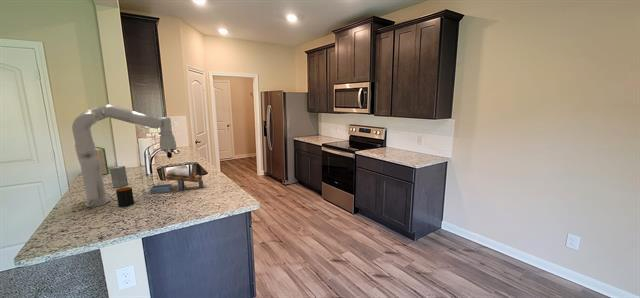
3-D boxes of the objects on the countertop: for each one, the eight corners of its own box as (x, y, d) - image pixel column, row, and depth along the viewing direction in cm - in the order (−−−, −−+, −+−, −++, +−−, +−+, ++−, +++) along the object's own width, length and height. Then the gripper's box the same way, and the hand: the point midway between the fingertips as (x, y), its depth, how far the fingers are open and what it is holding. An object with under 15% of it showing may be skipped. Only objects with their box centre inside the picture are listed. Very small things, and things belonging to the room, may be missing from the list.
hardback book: (108, 174, 248) (104, 148, 243) (99, 176, 242) (94, 149, 237) (101, 171, 258) (97, 146, 253) (92, 173, 252) (87, 148, 247)
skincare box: (121, 188, 208) (117, 168, 205) (112, 188, 208) (108, 168, 205) (128, 184, 216) (126, 165, 213) (120, 184, 216) (117, 165, 213)
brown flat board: (203, 176, 218) (203, 171, 218) (200, 182, 202) (201, 177, 202) (169, 173, 211) (170, 168, 210) (163, 179, 195) (164, 173, 194)
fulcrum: (187, 186, 209) (186, 175, 208) (184, 191, 198) (183, 180, 196) (179, 187, 207) (177, 176, 206) (175, 192, 196) (174, 181, 195)
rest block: (202, 188, 204) (201, 182, 203) (199, 188, 204) (198, 182, 203) (203, 186, 209) (202, 180, 208) (199, 186, 208) (199, 180, 208)
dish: (169, 192, 197) (169, 187, 196) (150, 194, 193) (149, 189, 192) (172, 188, 205) (171, 183, 204) (153, 190, 201) (153, 185, 200)
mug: (119, 209, 166) (117, 193, 164) (118, 204, 175) (115, 189, 173) (135, 206, 171) (133, 190, 169) (133, 201, 180) (131, 186, 178)
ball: (199, 180, 203) (200, 176, 203) (194, 180, 202) (195, 175, 202) (200, 179, 207) (200, 174, 206) (195, 178, 206) (195, 174, 205)
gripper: (153, 135, 195) (157, 159, 199) (176, 133, 199) (179, 157, 203) (156, 133, 202) (160, 157, 206) (178, 132, 206) (181, 155, 210)
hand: (169, 157), depth 204 cm, fingers closed
